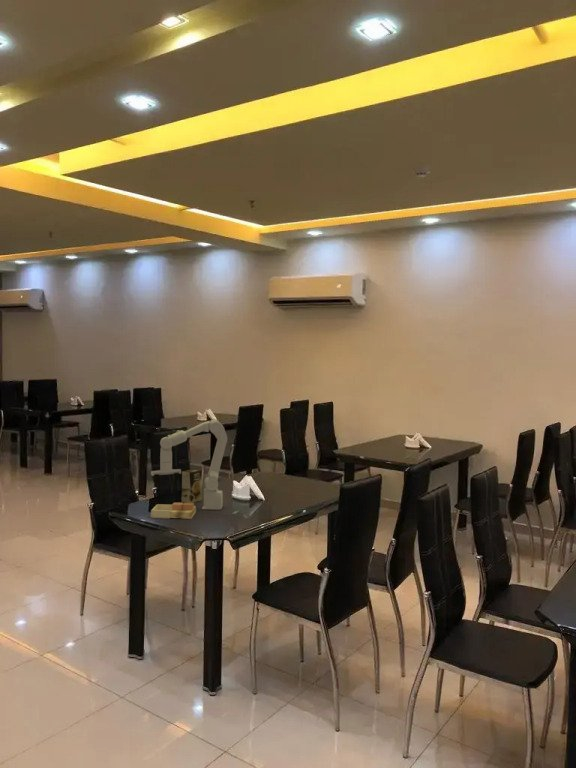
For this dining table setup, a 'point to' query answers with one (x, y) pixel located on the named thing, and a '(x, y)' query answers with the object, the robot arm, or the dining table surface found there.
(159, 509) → the tray
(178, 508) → the tile
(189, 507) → the tile
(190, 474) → the coffee box
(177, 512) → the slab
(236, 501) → the dining table surface
